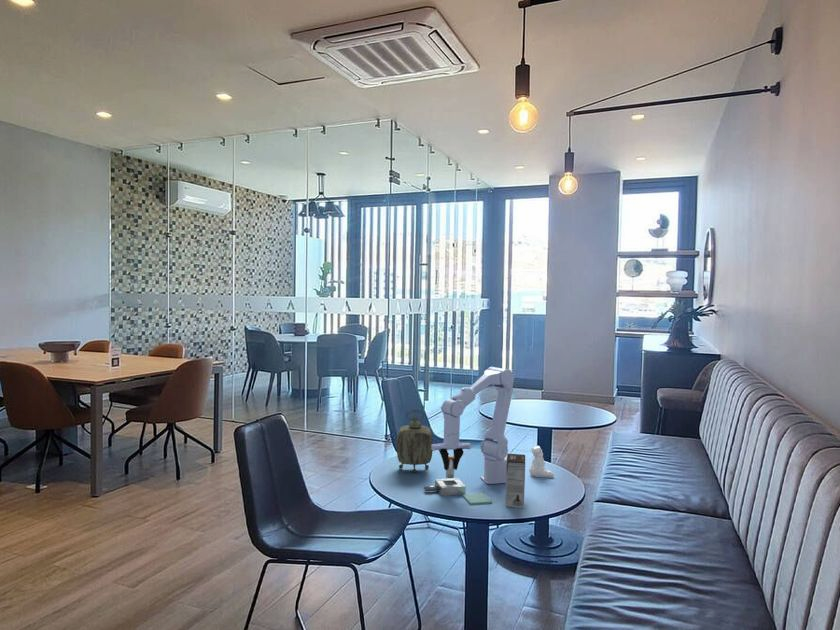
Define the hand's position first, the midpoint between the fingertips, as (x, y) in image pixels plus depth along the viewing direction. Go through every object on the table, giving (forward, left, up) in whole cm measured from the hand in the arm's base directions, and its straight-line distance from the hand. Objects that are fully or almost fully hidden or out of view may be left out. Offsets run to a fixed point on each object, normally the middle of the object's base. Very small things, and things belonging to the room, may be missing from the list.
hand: (450, 469), depth 199 cm
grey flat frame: (+2, 0, -8) cm, 8 cm away
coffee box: (-19, +15, -8) cm, 26 cm away
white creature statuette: (-41, -11, -8) cm, 43 cm away
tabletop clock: (+8, -24, -8) cm, 27 cm away
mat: (-7, +10, -8) cm, 15 cm away
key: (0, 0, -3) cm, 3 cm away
